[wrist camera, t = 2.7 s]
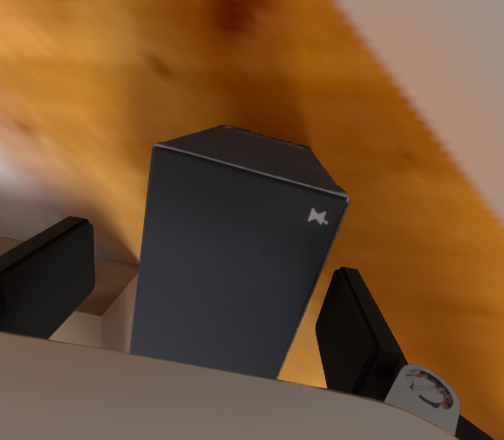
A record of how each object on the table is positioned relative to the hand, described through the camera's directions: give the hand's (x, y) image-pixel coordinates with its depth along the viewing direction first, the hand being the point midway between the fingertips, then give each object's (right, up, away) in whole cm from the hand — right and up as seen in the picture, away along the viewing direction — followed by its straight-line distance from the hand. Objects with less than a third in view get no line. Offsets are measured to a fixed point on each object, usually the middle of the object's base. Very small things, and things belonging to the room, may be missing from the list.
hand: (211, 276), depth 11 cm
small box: (+1, +3, +9) cm, 9 cm away
